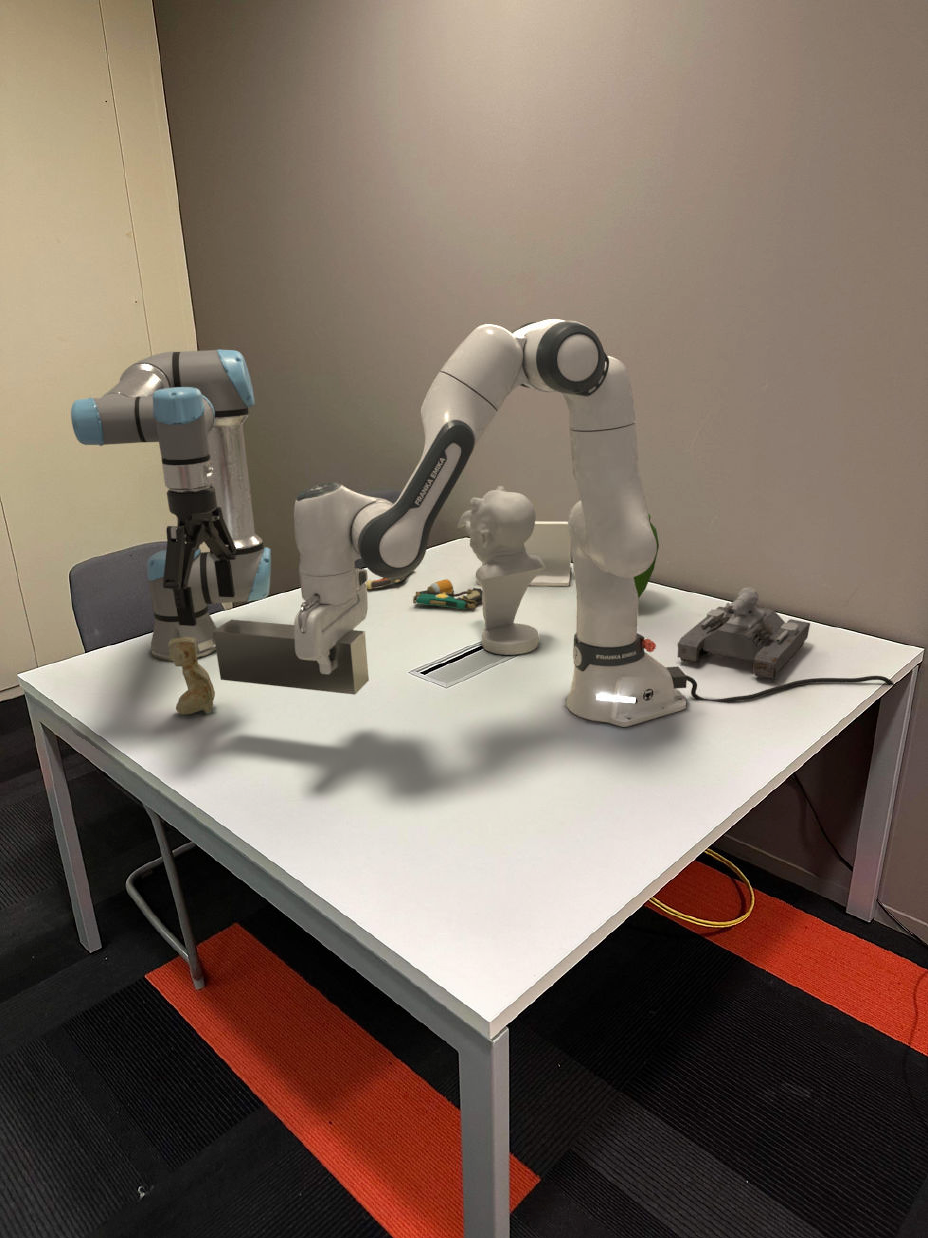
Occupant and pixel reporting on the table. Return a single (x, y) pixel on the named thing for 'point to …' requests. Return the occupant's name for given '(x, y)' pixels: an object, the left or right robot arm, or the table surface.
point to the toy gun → (383, 582)
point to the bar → (287, 658)
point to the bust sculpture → (503, 566)
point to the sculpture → (191, 677)
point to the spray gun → (448, 596)
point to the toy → (745, 636)
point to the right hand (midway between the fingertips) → (336, 663)
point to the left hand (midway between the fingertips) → (208, 610)
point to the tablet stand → (550, 552)
